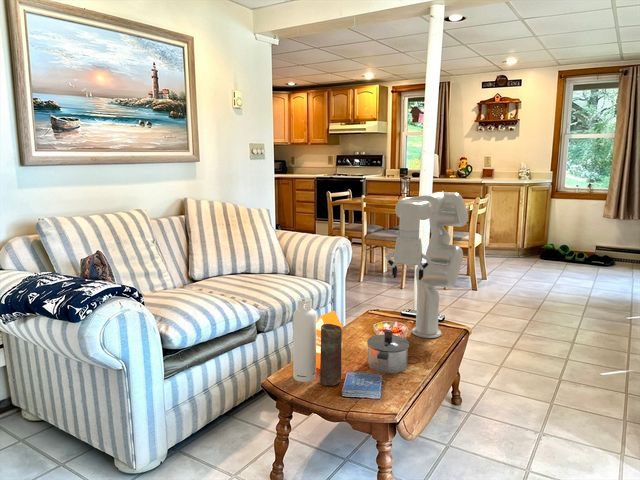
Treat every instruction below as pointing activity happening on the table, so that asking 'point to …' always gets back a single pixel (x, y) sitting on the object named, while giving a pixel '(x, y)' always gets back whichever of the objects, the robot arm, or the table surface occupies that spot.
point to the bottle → (304, 341)
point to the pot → (387, 361)
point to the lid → (388, 343)
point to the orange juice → (324, 319)
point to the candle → (330, 354)
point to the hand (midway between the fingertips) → (407, 278)
